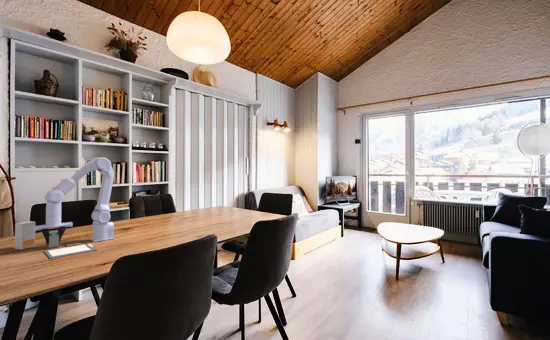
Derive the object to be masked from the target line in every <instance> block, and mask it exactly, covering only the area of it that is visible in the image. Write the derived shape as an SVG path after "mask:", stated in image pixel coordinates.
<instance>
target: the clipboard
mask: <svg viewBox="0 0 550 340" xmlns="http://www.w3.org/2000/svg"><path fill="white" fill-rule="evenodd" d="M97 250H98V249H97V248H95V245H93V244H91V243H84V244H83V243H82V245H76V246H70V247H67V246H65V247H58V248H53V249H47V250H43V252H44V254H46V256H47V257H48V259H50V260H52V259H58V258H62V257H63V258H64V257H68V256H74V255H79V254H84V253H90V252H95V251H97Z"/></svg>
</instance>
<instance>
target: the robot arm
mask: <svg viewBox="0 0 550 340" xmlns="http://www.w3.org/2000/svg"><path fill="white" fill-rule="evenodd" d="M95 171H98V172H99V173H100V175H102V176H101V177H102V178H101V184H100V189H99V194H98V198H97V204H96V205H95V207H94V210H93V211H92V213H91V215H90V216H91V219H92V220H93V221H92V237H90V238H89V240H90V241H92V242H94V243H96V242H101V241H108V240H114V239H115V226H114V222H113V221H111V213H110V210H111V209H110V199H111V196H112V195H111V193H112V188H113V184H114V179H115V178H114V177H115V171H114V168H113V166H112V162H111V160H109V159H108V158H107V157H103V156H102V157H93V158H92V159H91V160H89V161H87V162H86V163H85V164H84V165H83V166H82V167H80V169H78V170H77V171H76V172H75V173H74V174H72V176H70V177H66V178H64V179H62V178H61V180H60V183H59V182H58V184H57V185H55V187H54V186H53V187H52V188H51V190H49V191H47V192H45V195H44V197H43V198H44V199H45V201H46V206H45V224H41V225H35V226H33V231H35V232H37V231H40V232H41V233H42V235H43V238H44V241H45V244H46V245H47V246H48V245H49V233H50V231H49V230H51V229H57V232H58V234H59V244H60V243H61V241H62V237H63V235H64V233H65V232H66V230H67V228H68V227H69V228H72V227H73V224H74V223H73V222H72V221H68V222H62V201H63V200H64V197H65V196H66V195H67V194H69V193H70V192H71V191H72V190H73V189H75V188H76V187H77V182H78V181H79V180H81V179H82V178H83V177H85V176H86V175H87V174H89V173H90V172H95Z"/></svg>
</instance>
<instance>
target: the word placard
mask: <svg viewBox="0 0 550 340" xmlns="http://www.w3.org/2000/svg"><path fill="white" fill-rule="evenodd" d="M82 244H83V243H82V242H81V241H79V242H73V243H69V244H65V247H70V246H76V245H82Z"/></svg>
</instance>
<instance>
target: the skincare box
mask: <svg viewBox="0 0 550 340" xmlns="http://www.w3.org/2000/svg"><path fill="white" fill-rule="evenodd" d="M36 224H37V223H36V221H31V220H30V221H28V220H27V221H23V222H21V221H20V222H17V223H15V224H14V227H15V228H14V249H15V250H25V249H28V248H32V247H36V246H35V245H36V244H35V243H36V231H33V226H37V225H36Z"/></svg>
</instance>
